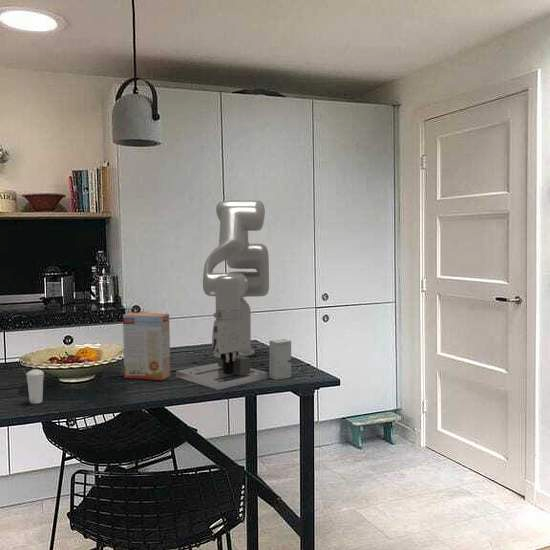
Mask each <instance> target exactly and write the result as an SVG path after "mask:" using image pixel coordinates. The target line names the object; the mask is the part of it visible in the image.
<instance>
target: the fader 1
mask: <svg viewBox="0 0 550 550" xmlns="http://www.w3.org/2000/svg"><path fill="white" fill-rule="evenodd" d="M219 353H220V352H219ZM217 363H218V366H219V367H223V361H221V359H220V358H219V357H217Z"/></svg>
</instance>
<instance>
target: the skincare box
mask: <svg viewBox="0 0 550 550" xmlns="http://www.w3.org/2000/svg"><path fill="white" fill-rule="evenodd" d="M268 343H269V346H268V347H269V364H268V365H269V372H268V373H269V378H270V379H272V380H275V381H276V380H277V381H278V380H285V379H290V378H292V341H291V340H290V339H284V338H283V339H273V340H269V342H268Z"/></svg>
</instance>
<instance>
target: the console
mask: <svg viewBox="0 0 550 550" xmlns="http://www.w3.org/2000/svg"><path fill="white" fill-rule="evenodd" d="M175 377H176V378H179V379H182V380H184V381H188V382H191V383H194V384H197V385H201V386H204V387H207V388H210V389H214V390H216V391H220V390H223V389H227V388H232V387H236V386H240V385H245V384H250V383H253V382H259V381H261V380H266V379H268V372H266V371H262V370H259V369H256V368H252V367H250V374H245V375H237V374H231V375H228V374H224V373H223V367H219V366H218V362H215V363H210V364H205V365H199V366H194V367H190V368H185V369H180V370H179V369H178V370H176V371H175Z"/></svg>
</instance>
